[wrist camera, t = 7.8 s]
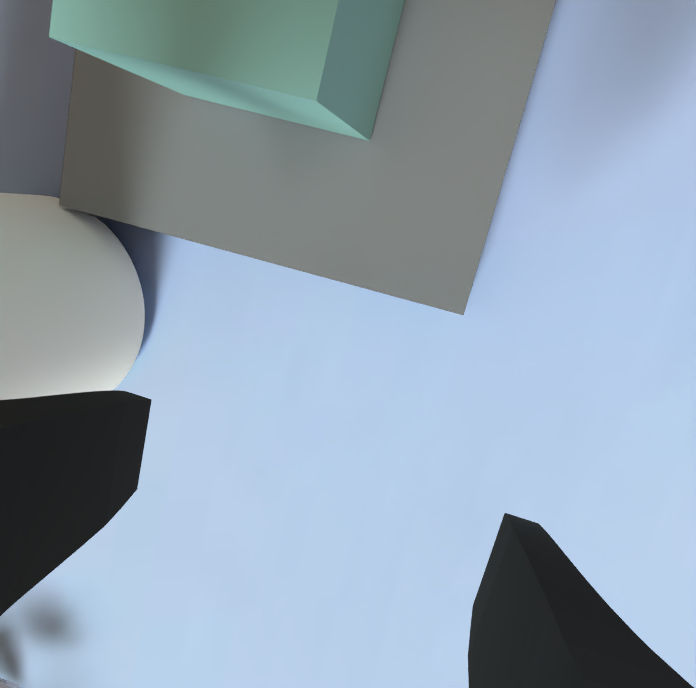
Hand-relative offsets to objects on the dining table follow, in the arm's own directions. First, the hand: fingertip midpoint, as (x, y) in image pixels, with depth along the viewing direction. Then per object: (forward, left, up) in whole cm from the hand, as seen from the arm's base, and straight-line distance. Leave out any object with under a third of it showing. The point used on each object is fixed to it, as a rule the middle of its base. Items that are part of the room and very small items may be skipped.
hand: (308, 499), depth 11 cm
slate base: (+5, -10, -10) cm, 15 cm away
